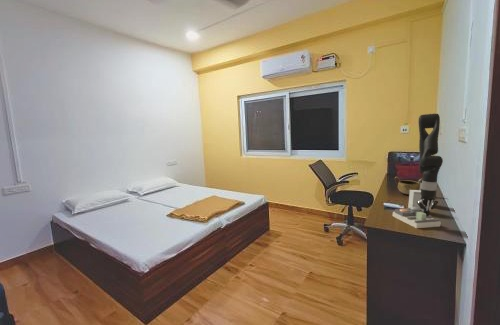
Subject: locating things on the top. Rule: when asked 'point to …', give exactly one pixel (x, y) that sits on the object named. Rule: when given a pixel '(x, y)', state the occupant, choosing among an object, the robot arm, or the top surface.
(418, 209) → the grey button
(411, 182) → the tan woven basket
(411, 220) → the panel
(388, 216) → the top surface
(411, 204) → the skincare box
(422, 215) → the sage slider
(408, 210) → the terracotta button
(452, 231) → the top surface
